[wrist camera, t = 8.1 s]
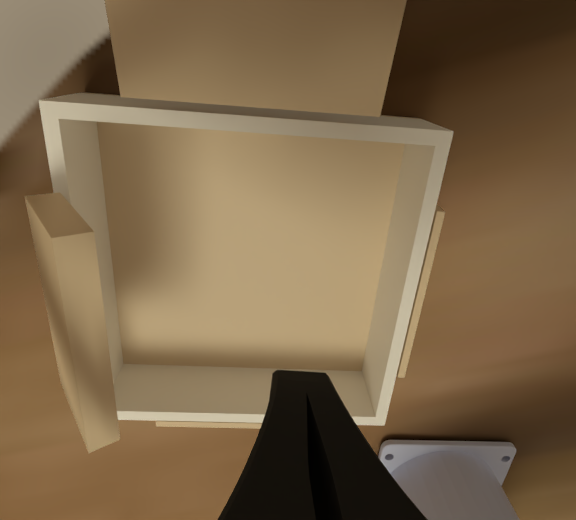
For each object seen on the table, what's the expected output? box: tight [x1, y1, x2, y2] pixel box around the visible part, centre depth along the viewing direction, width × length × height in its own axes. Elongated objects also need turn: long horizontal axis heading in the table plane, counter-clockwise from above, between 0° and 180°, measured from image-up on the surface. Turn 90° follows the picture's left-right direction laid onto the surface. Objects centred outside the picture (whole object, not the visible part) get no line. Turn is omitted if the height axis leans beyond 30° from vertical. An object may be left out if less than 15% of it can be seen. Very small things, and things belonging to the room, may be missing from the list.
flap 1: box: [25, 193, 120, 453], centre depth 14 cm, size 8×4×1 cm
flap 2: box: [105, 0, 407, 117], centre depth 11 cm, size 4×8×1 cm, turn 86°
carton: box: [39, 92, 454, 428], centre depth 18 cm, size 13×13×4 cm
